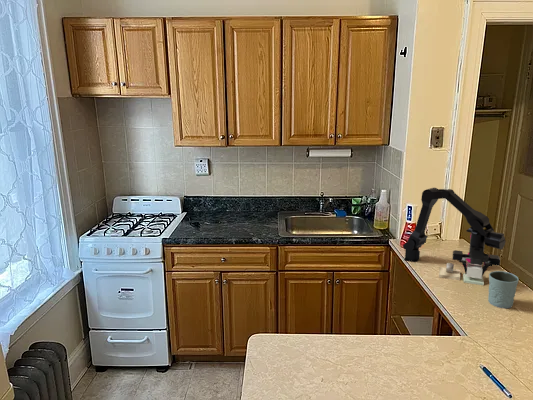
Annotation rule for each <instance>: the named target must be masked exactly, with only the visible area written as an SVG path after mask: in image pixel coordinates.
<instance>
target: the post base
mask: <svg viewBox="0 0 533 400" xmlns="http://www.w3.org/2000/svg"><path fill="white" fill-rule="evenodd" d="M454 265H455V264H454V263H452V262H447V263H446V267H445V266H444V267H443V266H439V268H438V278H440V279H448V280H455V281H461V269H457V268H456V269H455V268H454Z"/></svg>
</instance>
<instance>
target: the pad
mask: <svg viewBox="0 0 533 400" xmlns="http://www.w3.org/2000/svg"><path fill="white" fill-rule="evenodd" d="M462 276H463V283H466V284H472V285H478V286H484V284H485V283H484V282H485V281H484V275H483V276H482V278H481V279H479V278H472V277H466V274H465V272H464V273H463V275H462Z"/></svg>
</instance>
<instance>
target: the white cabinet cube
mask: <svg viewBox="0 0 533 400" xmlns="http://www.w3.org/2000/svg"><path fill="white" fill-rule="evenodd" d="M466 265H467V273H466V277H472V278H479V279H481V278H482V270H483V269H482V267H483V264H482V265H479V264H471V263H468V262H467V261H466Z"/></svg>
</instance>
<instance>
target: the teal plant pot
mask: <svg viewBox="0 0 533 400" xmlns="http://www.w3.org/2000/svg"><path fill="white" fill-rule="evenodd" d="M488 281H489V283H488V284H489V285H488V295H487V296H488V297H487V298H488V303H489V304H490V305H491V306H494V307H496V308H499V309H511V308H512V307H513V305H514V301H515V300H514V299H515V297H516V292H517V286H518V284H519V281H520V279H519V277H518V276H517V275H515V274H514V273H511V272H508V271H504V270H503V271H502V270H494V271H491V272H489V274H488Z"/></svg>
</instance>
